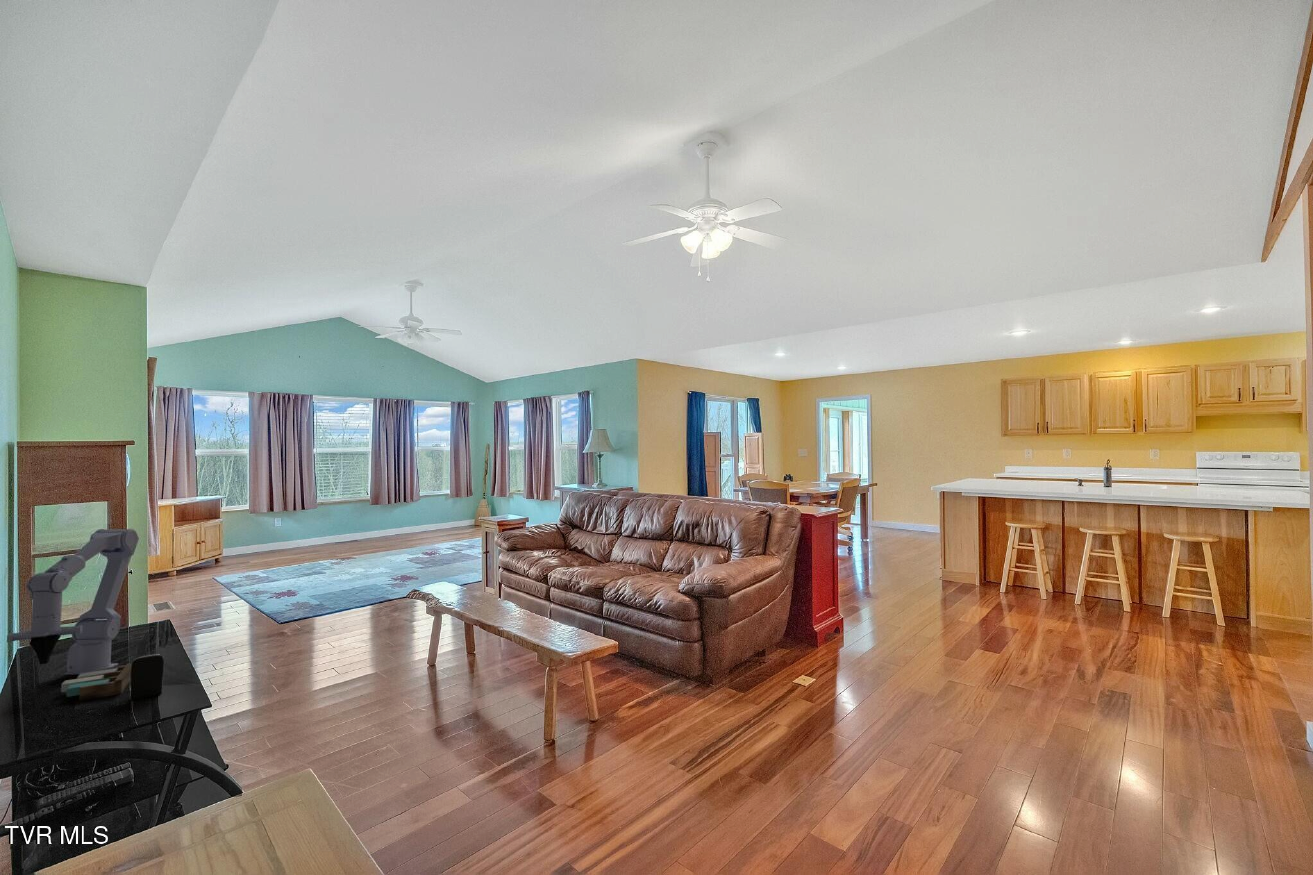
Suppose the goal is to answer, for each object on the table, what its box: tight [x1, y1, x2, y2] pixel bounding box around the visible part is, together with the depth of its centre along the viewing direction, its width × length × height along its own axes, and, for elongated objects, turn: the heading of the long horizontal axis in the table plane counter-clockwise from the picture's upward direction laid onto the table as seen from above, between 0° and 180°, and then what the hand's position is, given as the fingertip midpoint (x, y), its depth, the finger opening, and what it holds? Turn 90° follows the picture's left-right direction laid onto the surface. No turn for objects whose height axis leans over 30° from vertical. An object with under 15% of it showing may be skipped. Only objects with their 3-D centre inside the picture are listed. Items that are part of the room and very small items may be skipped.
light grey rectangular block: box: [76, 668, 118, 679], centre depth 166 cm, size 8×3×2 cm, turn 124°
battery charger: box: [129, 652, 165, 701], centre depth 158 cm, size 7×4×11 cm, turn 133°
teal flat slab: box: [66, 679, 110, 698], centre depth 157 cm, size 8×3×2 cm, turn 124°
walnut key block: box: [78, 662, 132, 701], centre depth 163 cm, size 8×16×4 cm, turn 34°
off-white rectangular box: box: [60, 675, 104, 693], centre depth 160 cm, size 8×3×2 cm, turn 124°
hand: (44, 662), depth 159 cm, fingers closed
